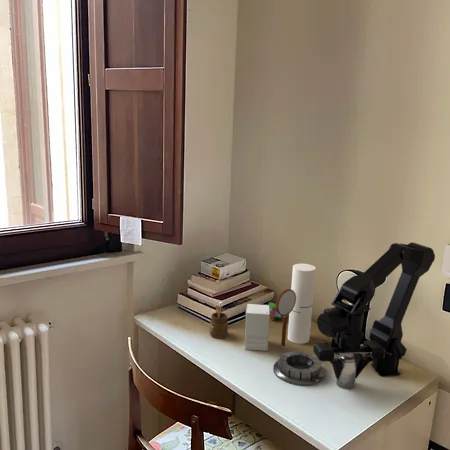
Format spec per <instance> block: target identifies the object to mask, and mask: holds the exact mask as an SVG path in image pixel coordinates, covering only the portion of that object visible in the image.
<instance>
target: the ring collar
mask: <svg viewBox="0 0 450 450" xmlns="http://www.w3.org/2000/svg"><path fill="white" fill-rule="evenodd" d="M272 370H273V373H274V375H275V376H276V377H277V378H278V379H280V380H281V381H283V382H284V383H287V384H289V385H293V386H294V385H295V386H302V387H305V386H306V387H307V386H314V385H317V384H319V383H321V382H323V381H324V379H325V377H326V370H325V367H323V365H322V361H319V359H318V358H317V356H316V355H313V354H311V353H308V352H303V351H289V352H286V353H283V354H281V355H280V357H279V358H278V360H277V361H276V362H275V363H274V364H273V369H272Z"/></svg>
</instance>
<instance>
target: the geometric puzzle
mask: <svg viewBox="0 0 450 450" xmlns="http://www.w3.org/2000/svg"><path fill="white" fill-rule="evenodd" d="M275 302H276V303H277V299H276V300H274V302H273V301H268V303H267V304H266V305H269V311H270V321H274V320H275V318H276V319H283V316H281V315H279V314H278V312H277V310H276V303H275ZM274 317H275V318H274Z"/></svg>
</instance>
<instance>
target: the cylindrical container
mask: <svg viewBox="0 0 450 450" xmlns="http://www.w3.org/2000/svg"><path fill="white" fill-rule="evenodd" d="M316 268H317V267H315V266H314V265H312V264H309V263H295V264H293V265H292V276H291V288H290V289H291V290H293V291H294V292H295V295H296V302H295V306H294V308H293V310H292V311H291V312H290V313H289V314H288V324H287V325H288V327H287V340H288V341H289V342H292V343H293V344H299V345H302V344H306V343H307V344H308V343H309V341H310V338H311V325H312V324H311V323H312V314H313V313H312V312H313V301H314V300H313V299H314V290H315V278H316Z"/></svg>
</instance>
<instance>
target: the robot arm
mask: <svg viewBox="0 0 450 450" xmlns="http://www.w3.org/2000/svg"><path fill="white" fill-rule="evenodd" d="M435 259H436V255H435V252H434V250H433V248H432V247H429V246H426V245H422V244H420V243H417V242H415V241H413V242H409V243H408V244H405V243H397V242H396V243H395V242H394V243H391V245H390V246H389V247H388V250H386V251H385V253H383V254H382V255H381V256H380V257H379V258H378V259H377V260H376V261H375V262H374V263H372V264H371V265H370V266H369V267H368V268H367V269H366V270H365V271H364V272H362V273H361V274H357V275H354V276H351V277H350V278H348V279H347V280H346V281H345V282H343V284H342V285H341V286H340V288H339V290H338V291H337V293H336V295H335V297H333V299H332V301H331V305H332V306H333V307H331V308H324V309H323V312H322V313H321V314H319V315H318V317H317V319H316V323H317V324H316V326H317V329H318V330H319V332H320V333H321V334H322V335H324V336H326V338H331V340H334V342H335V344H336V345H338V346H332V345H330V343H329V342H316V343H315V344H314V345H313V353H314V356H315V357H317V358H318V359H319V361H320V362H330V364H331V365H332V368H333V372H334V377H335V378H336V380H337V379H338V378H339V375H340V368H341V360H340V359H339V356H340V355H341V354H353V355H355V356H356V358H357V368H356V377H355V379H357V378H358V376H359V375H360V374H361V373H362V371H363V370H364V369H365V368H366V367H367V365H368V364H369V363H370V362H372V363H371V364H370V365H371V367H372V368H373V370H374V371H375V372H376V373H377V374H378V376H379V377H391V376H401V372H400V370H399V365H400V364H399V363H400V360H402V358H403V357H405V355H406V353H407V350H408V349H407V347H406V346H405V345H404V344H403V343H402V339H403V334H404V333H403V327H402V322H403V319H404V317H405V315H406V312H407V309H408V308H409V304H410V303H411V299H412V297H413V295H414V292H415V290H416V287H417V284H418V282H419V279H420V278H421V277H422V276H423V275H424V274H426V273H427V272H429V270H430V269H431V266H432V265H433V262H435ZM399 266H401V269H402V271H401V273H400V276H399V278H398V281H397V283H396V286H395V288H394V291H393V294H392V295H391V299H390V302H389V304H388V306H387V309H386V310H385V314H384V316H383V317H382V318H380V319H379V320H377V319H375V320H374V321H373V323H372V327H371V328H370V330H369V340H364V341H363V343H362V339H364V337H365V334H364V333H363V328H364V327H363V325H364V318H365V312H368V311H370V310H371V307H369V306H368V304H369V303H370V302H371V300H372V299H373V297H375V294H376V288H378V286H379V285H380V284H381V283H382V282H383V281H384V280H385V279H386V278H387V277H388V276H389V275H391V273H393V272H394V271H395V270H396V269H397V268H398V267H399ZM343 300H344V301H346V302H348V303H349V304H348V303H346V302H344V301H343Z"/></svg>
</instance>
